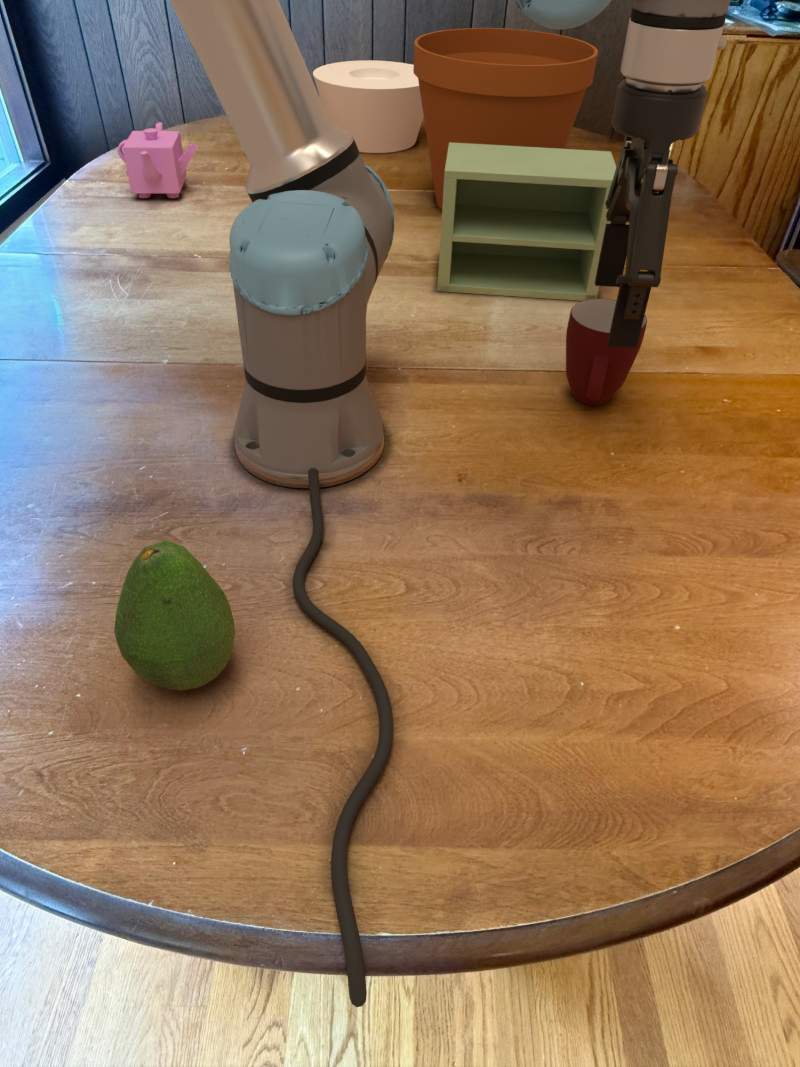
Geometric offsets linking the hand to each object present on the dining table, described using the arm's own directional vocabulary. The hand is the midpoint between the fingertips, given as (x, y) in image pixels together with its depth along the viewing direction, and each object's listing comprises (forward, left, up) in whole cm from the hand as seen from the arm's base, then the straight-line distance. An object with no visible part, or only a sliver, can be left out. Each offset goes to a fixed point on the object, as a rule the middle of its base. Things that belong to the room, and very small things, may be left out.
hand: (614, 313), depth 80 cm
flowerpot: (+62, +12, -11) cm, 64 cm away
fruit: (-42, +34, -11) cm, 55 cm away
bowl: (+95, +36, -11) cm, 102 cm away
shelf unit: (+32, +8, -11) cm, 35 cm away
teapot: (+58, +69, -7) cm, 90 cm away
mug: (0, 0, -11) cm, 11 cm away
